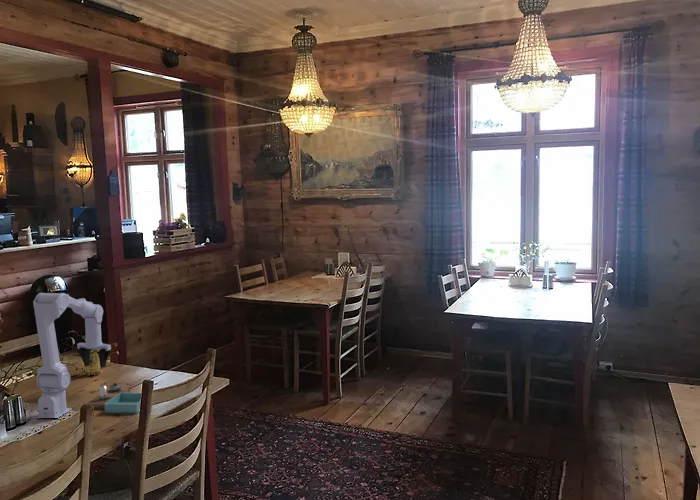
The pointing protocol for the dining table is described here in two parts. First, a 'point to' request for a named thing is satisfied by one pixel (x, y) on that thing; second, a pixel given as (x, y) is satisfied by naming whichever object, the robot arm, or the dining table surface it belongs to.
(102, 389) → the lock pin
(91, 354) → the sauce bottle
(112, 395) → the tensioner bracket
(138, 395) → the tray
